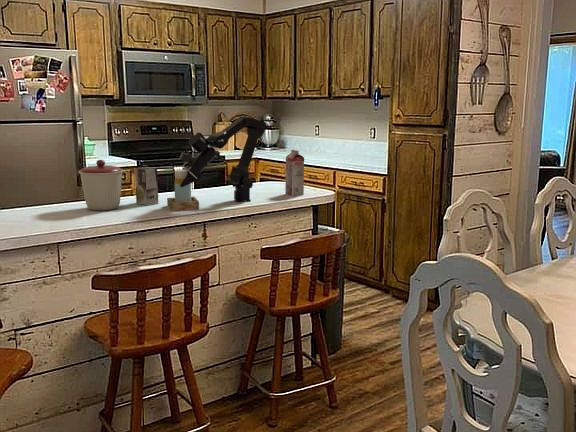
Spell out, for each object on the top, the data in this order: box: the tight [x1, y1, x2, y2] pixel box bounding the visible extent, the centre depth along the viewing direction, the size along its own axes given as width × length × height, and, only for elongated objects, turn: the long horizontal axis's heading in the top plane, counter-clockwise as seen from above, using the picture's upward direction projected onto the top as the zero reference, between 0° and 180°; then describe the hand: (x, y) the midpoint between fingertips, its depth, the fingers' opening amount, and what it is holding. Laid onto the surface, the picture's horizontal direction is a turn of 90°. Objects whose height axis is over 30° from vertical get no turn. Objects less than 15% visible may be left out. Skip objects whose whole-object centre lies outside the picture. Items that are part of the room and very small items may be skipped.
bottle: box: [173, 169, 192, 202], centre depth 244 cm, size 7×7×15 cm
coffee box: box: [133, 166, 159, 206], centre depth 252 cm, size 9×6×16 cm
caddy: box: [166, 196, 200, 212], centre depth 245 cm, size 12×12×4 cm
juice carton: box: [284, 149, 305, 197], centre depth 278 cm, size 7×7×22 cm
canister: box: [78, 159, 124, 212], centre depth 239 cm, size 18×18×21 cm
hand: (179, 184), depth 243 cm, fingers open, 9 cm apart
